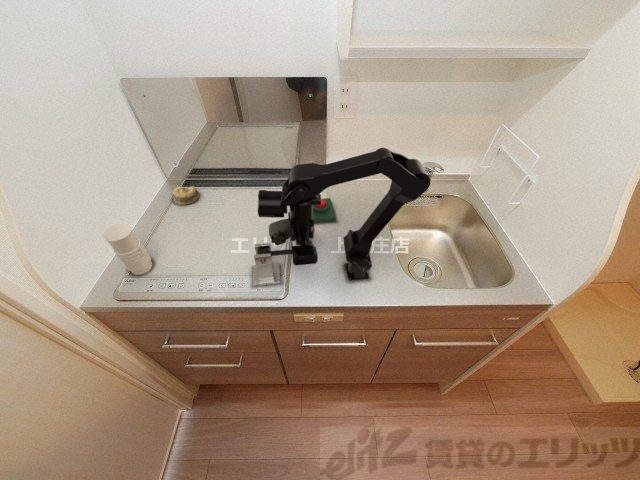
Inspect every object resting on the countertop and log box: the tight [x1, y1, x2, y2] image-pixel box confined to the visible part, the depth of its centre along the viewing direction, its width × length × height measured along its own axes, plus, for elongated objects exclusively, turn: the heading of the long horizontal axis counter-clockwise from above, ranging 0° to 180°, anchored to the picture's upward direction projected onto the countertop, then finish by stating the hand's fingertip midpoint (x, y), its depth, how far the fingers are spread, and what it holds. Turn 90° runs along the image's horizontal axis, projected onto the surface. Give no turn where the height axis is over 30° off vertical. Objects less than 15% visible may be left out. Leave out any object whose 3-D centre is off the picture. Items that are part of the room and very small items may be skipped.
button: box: [316, 198, 326, 208], centre depth 101 cm, size 4×4×2 cm
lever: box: [258, 248, 292, 257], centre depth 76 cm, size 14×3×3 cm, turn 99°
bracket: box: [252, 242, 281, 287], centre depth 78 cm, size 8×7×12 cm
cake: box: [172, 185, 201, 206], centre depth 106 cm, size 10×10×5 cm
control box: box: [313, 197, 337, 224], centre depth 103 cm, size 12×10×4 cm
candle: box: [102, 223, 153, 276], centre depth 78 cm, size 7×7×15 cm
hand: (301, 255), depth 79 cm, fingers closed on lever, 3 cm apart
